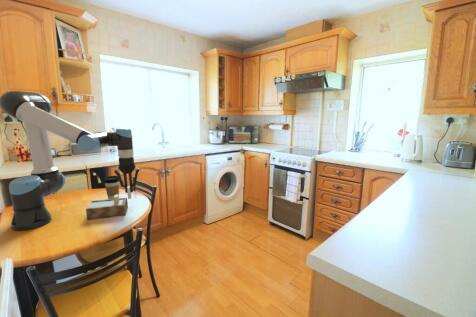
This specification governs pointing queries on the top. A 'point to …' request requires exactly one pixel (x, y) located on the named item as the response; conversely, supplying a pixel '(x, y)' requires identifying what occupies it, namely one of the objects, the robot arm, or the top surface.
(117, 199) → the lid
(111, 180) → the coffee cup
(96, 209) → the box
